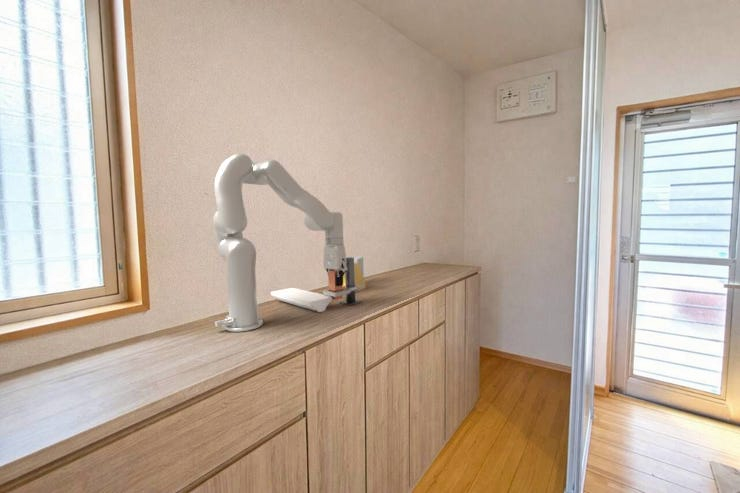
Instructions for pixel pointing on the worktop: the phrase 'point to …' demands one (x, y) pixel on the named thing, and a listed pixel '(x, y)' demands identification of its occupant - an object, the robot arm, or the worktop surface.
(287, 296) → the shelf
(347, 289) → the rosette post
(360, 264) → the skincare box
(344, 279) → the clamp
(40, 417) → the worktop surface
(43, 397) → the worktop surface
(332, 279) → the orange-brown rectangular block
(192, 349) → the worktop surface
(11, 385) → the worktop surface
